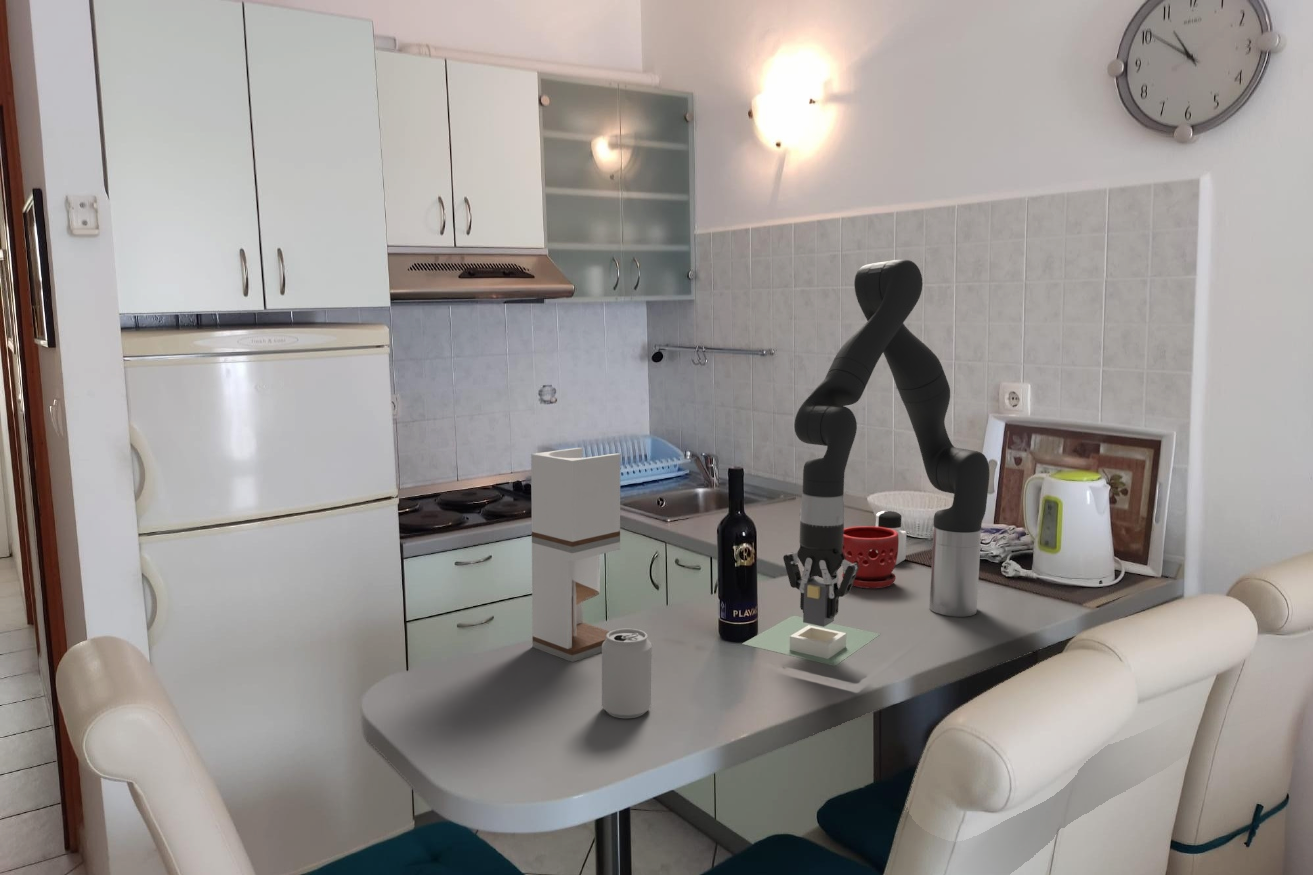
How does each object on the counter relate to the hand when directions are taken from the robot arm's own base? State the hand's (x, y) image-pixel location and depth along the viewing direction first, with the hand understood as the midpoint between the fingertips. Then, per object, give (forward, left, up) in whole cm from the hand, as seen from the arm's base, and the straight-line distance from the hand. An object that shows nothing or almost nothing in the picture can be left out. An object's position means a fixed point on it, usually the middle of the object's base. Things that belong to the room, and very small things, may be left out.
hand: (818, 614), depth 169 cm
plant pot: (-48, -11, -8) cm, 50 cm away
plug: (0, 0, -1) cm, 1 cm away
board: (-4, -3, -7) cm, 9 cm away
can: (+39, -13, -8) cm, 42 cm away
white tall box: (+22, -37, -8) cm, 44 cm away
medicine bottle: (-70, -15, -8) cm, 72 cm away
